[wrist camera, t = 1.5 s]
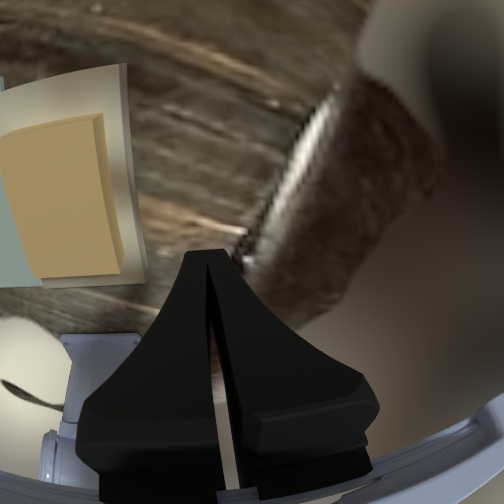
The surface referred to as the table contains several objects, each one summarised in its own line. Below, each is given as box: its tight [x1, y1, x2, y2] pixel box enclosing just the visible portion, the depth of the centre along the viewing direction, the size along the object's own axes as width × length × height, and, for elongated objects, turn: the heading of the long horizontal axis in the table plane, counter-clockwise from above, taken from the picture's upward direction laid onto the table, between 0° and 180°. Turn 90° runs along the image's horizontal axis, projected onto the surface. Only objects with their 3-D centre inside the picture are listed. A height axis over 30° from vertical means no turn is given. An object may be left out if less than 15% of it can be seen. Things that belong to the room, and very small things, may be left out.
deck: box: [0, 63, 148, 288], centre depth 17 cm, size 14×8×2 cm, turn 178°
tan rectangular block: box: [0, 112, 125, 278], centre depth 16 cm, size 9×6×2 cm, turn 178°
